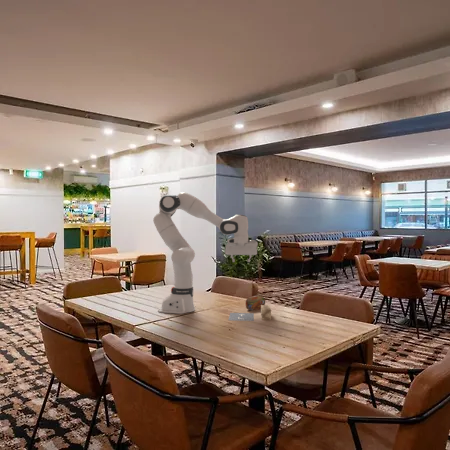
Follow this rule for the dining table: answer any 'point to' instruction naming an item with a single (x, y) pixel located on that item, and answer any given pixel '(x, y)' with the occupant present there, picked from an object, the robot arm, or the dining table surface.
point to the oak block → (265, 312)
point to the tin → (255, 302)
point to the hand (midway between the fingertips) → (241, 262)
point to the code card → (241, 316)
